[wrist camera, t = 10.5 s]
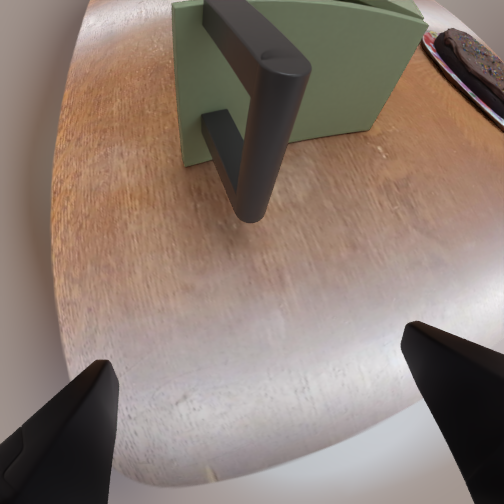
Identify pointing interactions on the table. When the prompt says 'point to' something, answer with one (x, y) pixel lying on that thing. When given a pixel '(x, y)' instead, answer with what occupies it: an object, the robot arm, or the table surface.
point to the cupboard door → (279, 81)
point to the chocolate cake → (469, 69)
